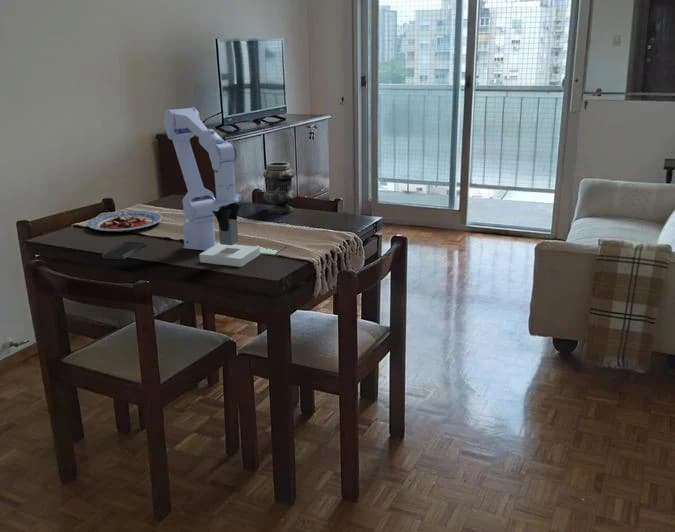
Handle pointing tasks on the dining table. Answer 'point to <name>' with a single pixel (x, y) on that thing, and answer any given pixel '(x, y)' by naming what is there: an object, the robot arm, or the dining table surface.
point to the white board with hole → (230, 254)
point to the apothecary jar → (279, 186)
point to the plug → (229, 234)
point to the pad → (267, 251)
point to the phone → (123, 250)
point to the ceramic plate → (123, 221)
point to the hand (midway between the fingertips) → (228, 228)
